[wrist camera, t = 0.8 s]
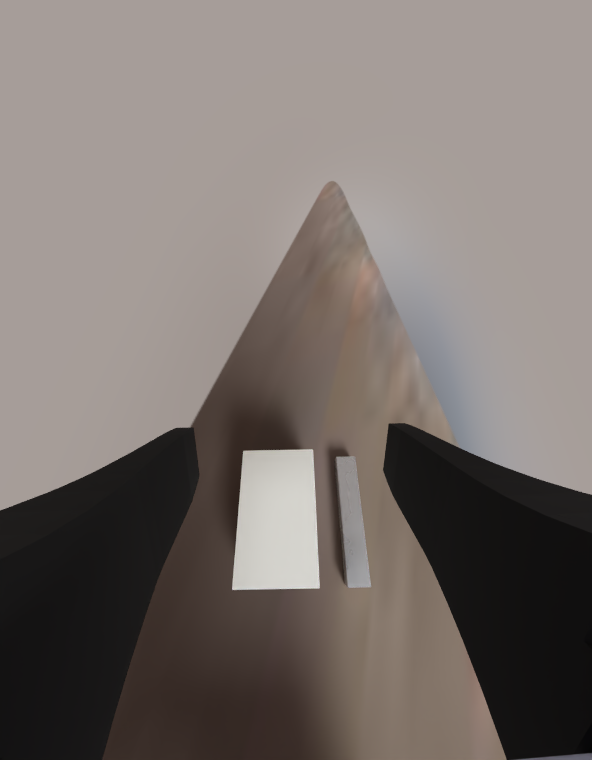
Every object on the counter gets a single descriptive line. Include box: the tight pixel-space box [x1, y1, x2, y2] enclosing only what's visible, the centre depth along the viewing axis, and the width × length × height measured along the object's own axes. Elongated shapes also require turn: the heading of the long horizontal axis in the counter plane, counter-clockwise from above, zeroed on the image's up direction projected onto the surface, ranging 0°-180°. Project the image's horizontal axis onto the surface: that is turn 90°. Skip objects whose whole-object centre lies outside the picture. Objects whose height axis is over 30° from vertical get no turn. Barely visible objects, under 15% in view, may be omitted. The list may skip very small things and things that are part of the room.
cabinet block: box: [232, 449, 320, 590], centre depth 20 cm, size 8×5×6 cm, turn 1°
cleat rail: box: [334, 456, 371, 588], centre depth 22 cm, size 9×2×2 cm, turn 1°
